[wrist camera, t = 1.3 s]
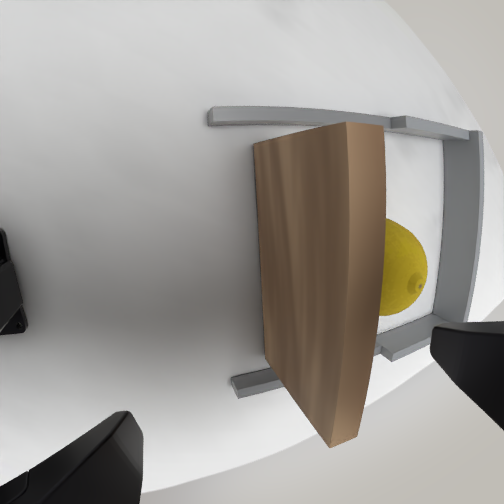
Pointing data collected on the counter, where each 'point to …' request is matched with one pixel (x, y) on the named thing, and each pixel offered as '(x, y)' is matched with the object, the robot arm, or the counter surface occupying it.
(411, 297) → the lemon
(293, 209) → the board
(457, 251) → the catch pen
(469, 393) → the robot arm
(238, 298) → the counter surface
